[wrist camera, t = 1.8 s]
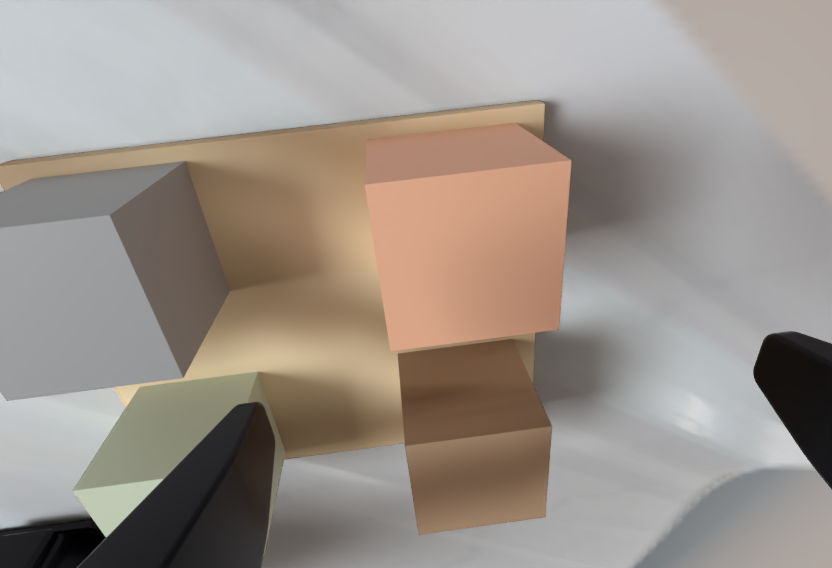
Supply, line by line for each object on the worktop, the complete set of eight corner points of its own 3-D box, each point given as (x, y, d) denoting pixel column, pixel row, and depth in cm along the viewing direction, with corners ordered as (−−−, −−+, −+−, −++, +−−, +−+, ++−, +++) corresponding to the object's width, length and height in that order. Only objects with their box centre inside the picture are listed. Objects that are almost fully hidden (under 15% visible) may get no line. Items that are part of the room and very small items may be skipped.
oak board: (526, 414, 23) (531, 426, 23) (169, 461, 23) (163, 475, 22) (537, 100, 16) (544, 103, 15) (8, 160, 15) (-9, 167, 15)
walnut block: (511, 421, 22) (545, 517, 18) (409, 435, 22) (418, 534, 18) (512, 338, 20) (551, 426, 15) (397, 353, 20) (405, 446, 15)
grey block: (230, 291, 18) (183, 378, 13) (97, 307, 17) (6, 401, 13) (185, 160, 15) (109, 215, 11) (31, 179, 15) (-110, 241, 11)
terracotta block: (513, 256, 18) (559, 329, 13) (385, 271, 18) (390, 351, 13) (514, 122, 15) (571, 160, 11) (366, 139, 15) (364, 184, 11)
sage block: (285, 451, 22) (264, 556, 18) (180, 466, 22) (133, 574, 17) (257, 371, 19) (225, 470, 15) (139, 386, 19) (72, 490, 15)
